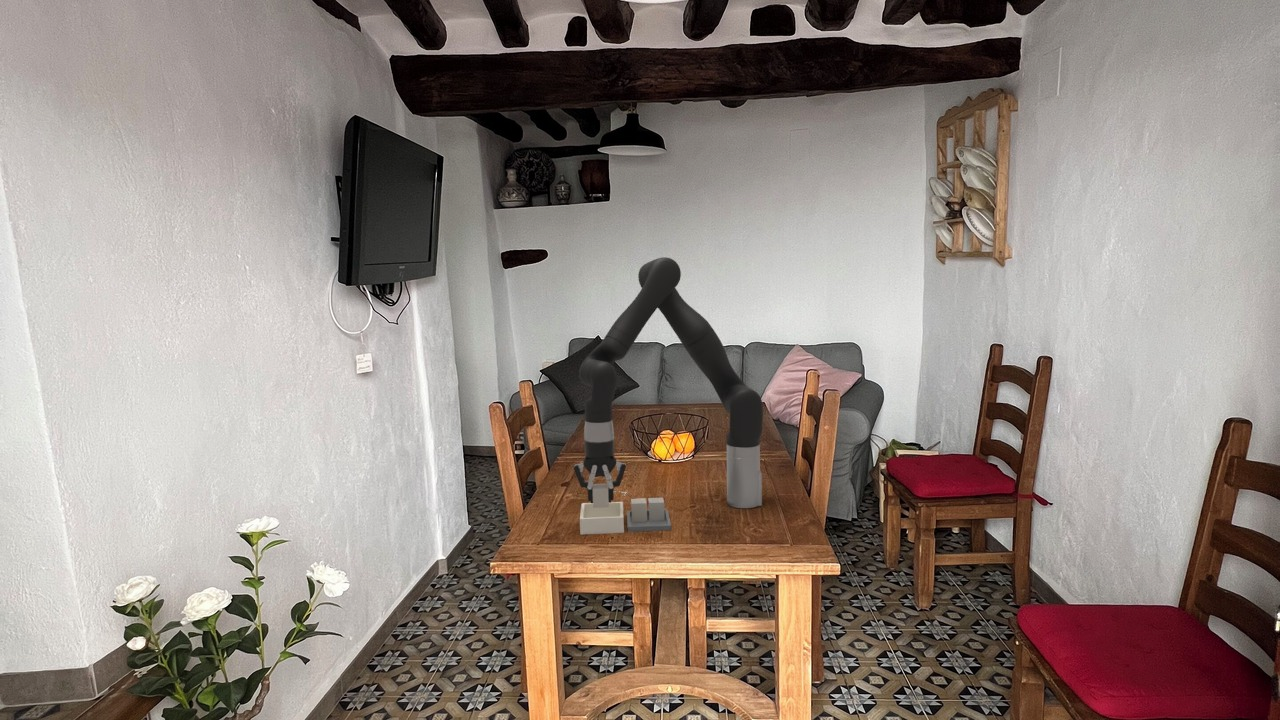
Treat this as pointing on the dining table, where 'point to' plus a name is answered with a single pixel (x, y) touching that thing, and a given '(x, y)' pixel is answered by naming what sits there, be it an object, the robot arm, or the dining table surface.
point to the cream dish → (601, 519)
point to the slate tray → (648, 523)
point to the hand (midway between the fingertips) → (600, 501)
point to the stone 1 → (600, 495)
